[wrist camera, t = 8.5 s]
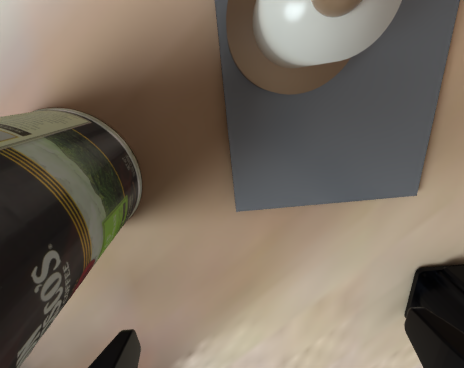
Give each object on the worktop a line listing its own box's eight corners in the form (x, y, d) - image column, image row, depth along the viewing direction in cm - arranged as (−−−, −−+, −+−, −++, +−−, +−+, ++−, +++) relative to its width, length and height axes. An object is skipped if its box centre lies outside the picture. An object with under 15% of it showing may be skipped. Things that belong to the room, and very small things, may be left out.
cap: (337, 64, 13) (418, 52, 7) (254, 72, 13) (274, 67, 8) (344, -42, 11) (457, -159, 6) (249, -31, 12) (270, -136, 6)
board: (411, 192, 20) (416, 195, 19) (236, 207, 20) (236, 211, 19) (467, -75, 13) (477, -81, 13) (210, -44, 14) (209, -50, 13)
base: (340, 86, 16) (359, 87, 14) (232, 97, 16) (232, 100, 14) (350, -54, 13) (376, -82, 11) (220, -39, 13) (218, -63, 11)
